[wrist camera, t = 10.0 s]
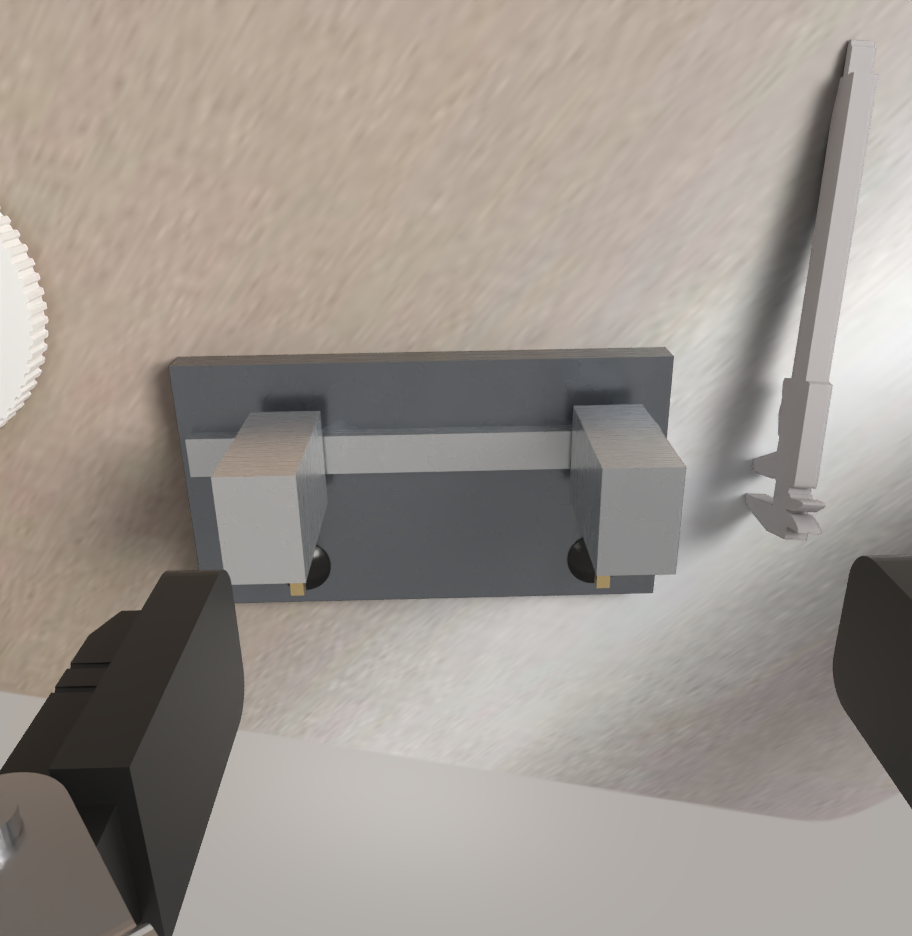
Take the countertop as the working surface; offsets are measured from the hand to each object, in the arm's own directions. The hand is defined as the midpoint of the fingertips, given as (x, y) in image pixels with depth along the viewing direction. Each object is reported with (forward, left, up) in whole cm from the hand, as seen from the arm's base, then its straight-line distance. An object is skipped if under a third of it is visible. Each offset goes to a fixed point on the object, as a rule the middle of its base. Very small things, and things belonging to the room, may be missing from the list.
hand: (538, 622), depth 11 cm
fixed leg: (-6, +10, -26) cm, 28 cm away
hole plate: (+2, +10, -28) cm, 30 cm away
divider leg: (+8, +10, -25) cm, 29 cm away
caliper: (-15, +2, -29) cm, 32 cm away
